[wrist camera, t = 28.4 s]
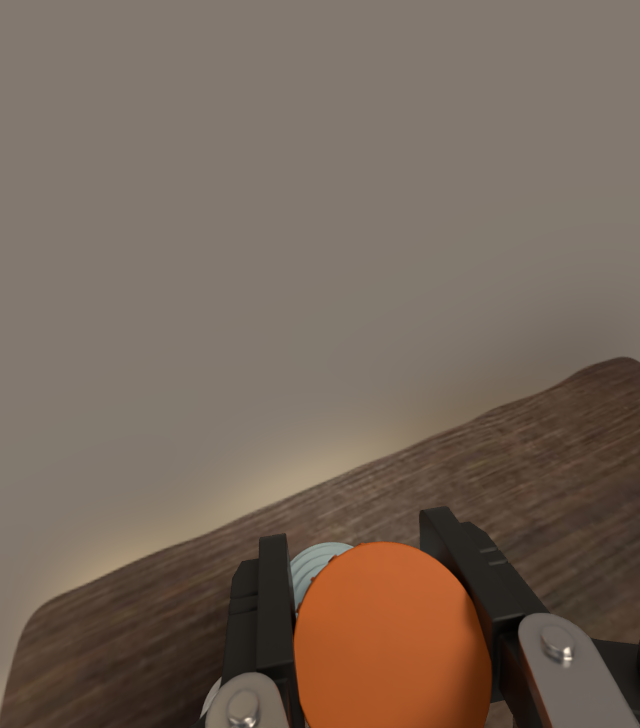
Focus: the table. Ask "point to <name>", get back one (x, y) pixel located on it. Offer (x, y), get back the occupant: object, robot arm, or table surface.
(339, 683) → the cap
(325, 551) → the water bottle
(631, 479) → the table surface
